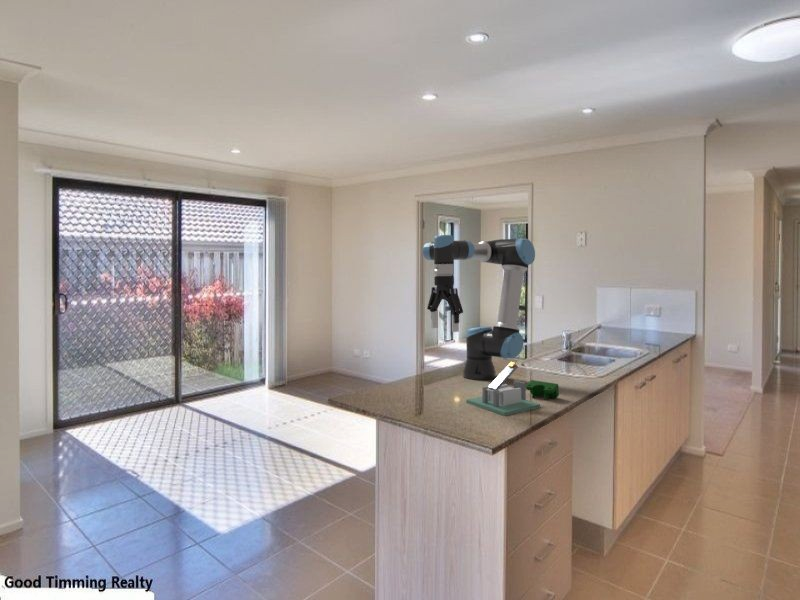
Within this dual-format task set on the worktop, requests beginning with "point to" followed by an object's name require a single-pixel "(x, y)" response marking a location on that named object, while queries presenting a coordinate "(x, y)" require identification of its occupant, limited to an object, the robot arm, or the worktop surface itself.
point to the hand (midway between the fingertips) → (444, 329)
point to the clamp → (543, 389)
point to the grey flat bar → (503, 376)
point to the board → (504, 408)
